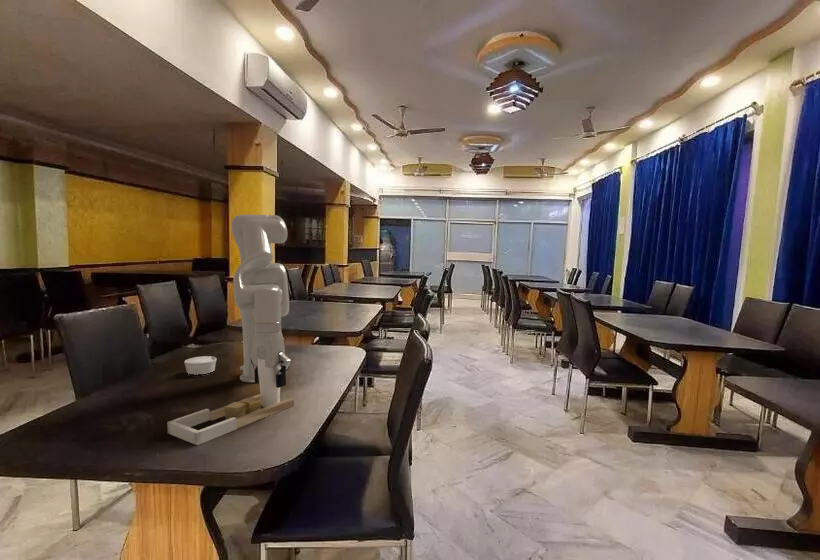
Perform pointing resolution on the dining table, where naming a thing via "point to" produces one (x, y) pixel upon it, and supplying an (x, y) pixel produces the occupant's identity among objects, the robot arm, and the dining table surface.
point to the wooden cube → (252, 404)
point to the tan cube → (235, 410)
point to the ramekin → (200, 365)
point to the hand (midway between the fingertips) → (270, 384)
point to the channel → (254, 415)
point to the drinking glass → (268, 384)
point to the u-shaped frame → (197, 437)
